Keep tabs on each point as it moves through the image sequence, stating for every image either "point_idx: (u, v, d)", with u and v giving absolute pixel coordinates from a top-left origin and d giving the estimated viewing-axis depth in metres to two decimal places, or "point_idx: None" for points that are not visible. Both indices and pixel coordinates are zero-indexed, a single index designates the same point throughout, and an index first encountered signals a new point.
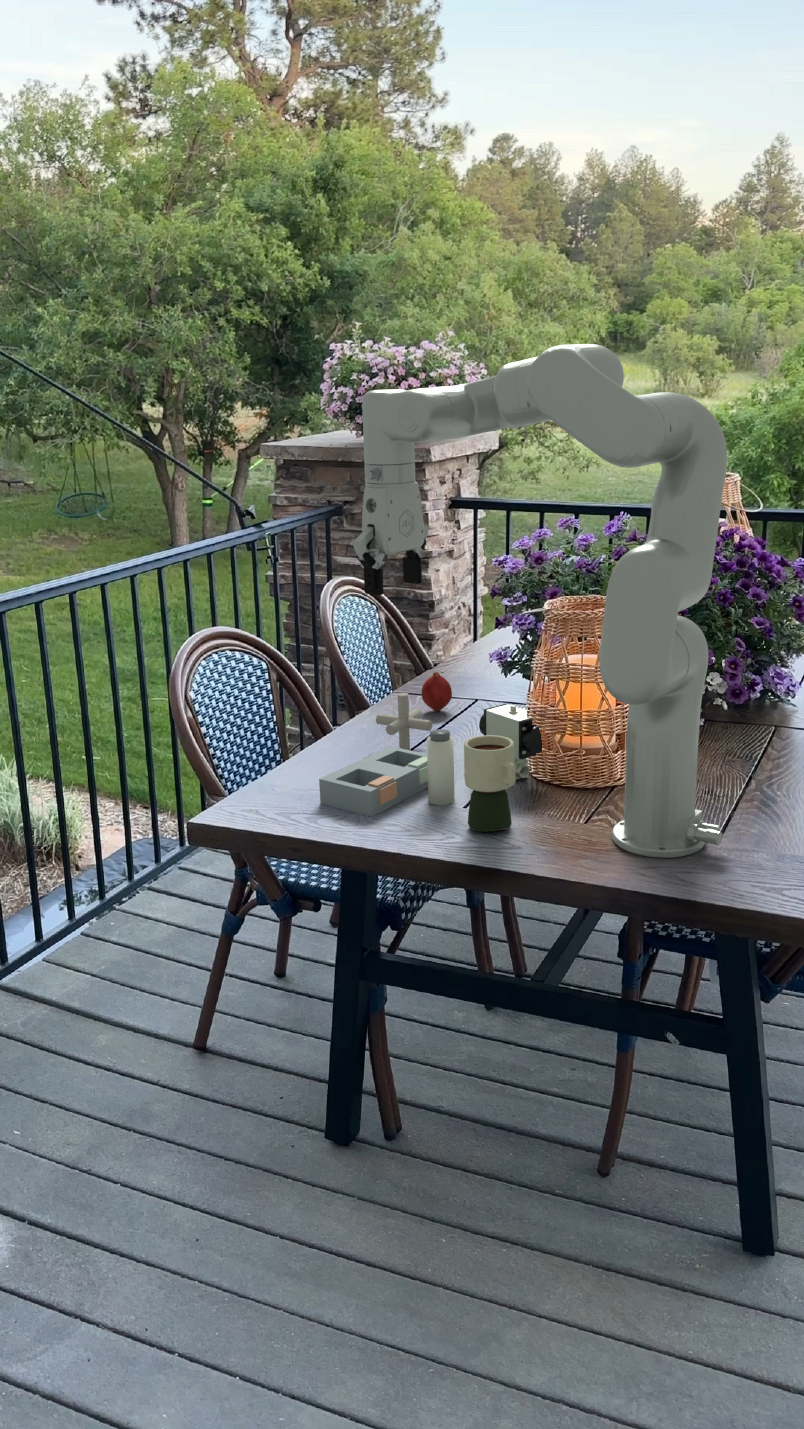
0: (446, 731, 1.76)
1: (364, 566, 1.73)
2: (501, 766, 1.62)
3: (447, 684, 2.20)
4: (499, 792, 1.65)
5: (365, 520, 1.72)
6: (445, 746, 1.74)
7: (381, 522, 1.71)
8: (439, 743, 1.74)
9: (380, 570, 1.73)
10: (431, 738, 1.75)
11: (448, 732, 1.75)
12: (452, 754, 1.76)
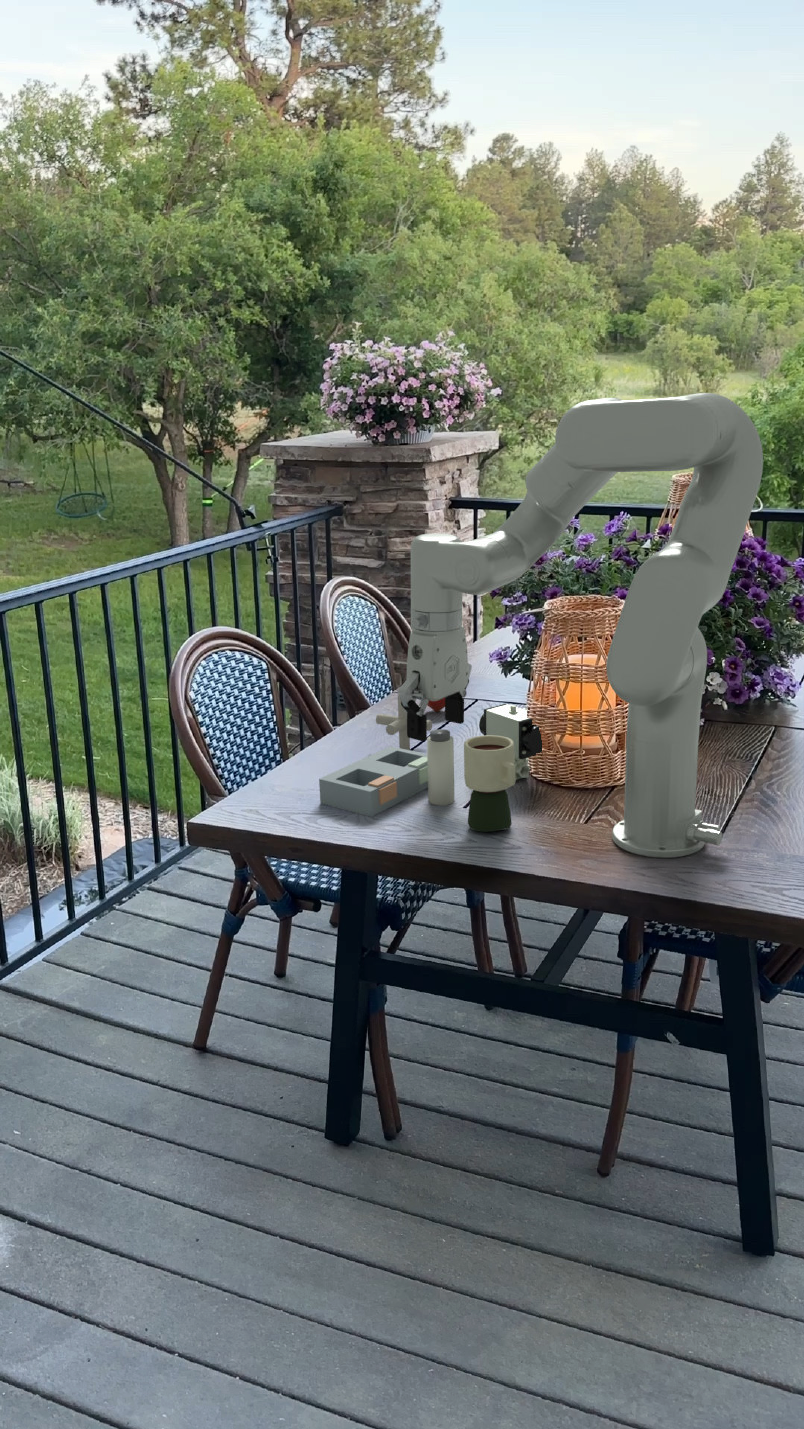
0: (446, 731, 1.76)
1: (408, 712, 1.70)
2: (501, 766, 1.62)
3: None
4: (499, 792, 1.65)
5: (410, 666, 1.69)
6: (446, 746, 1.74)
7: (427, 670, 1.67)
8: (439, 743, 1.74)
9: (424, 717, 1.70)
10: (431, 738, 1.75)
11: (448, 732, 1.75)
12: (452, 754, 1.76)
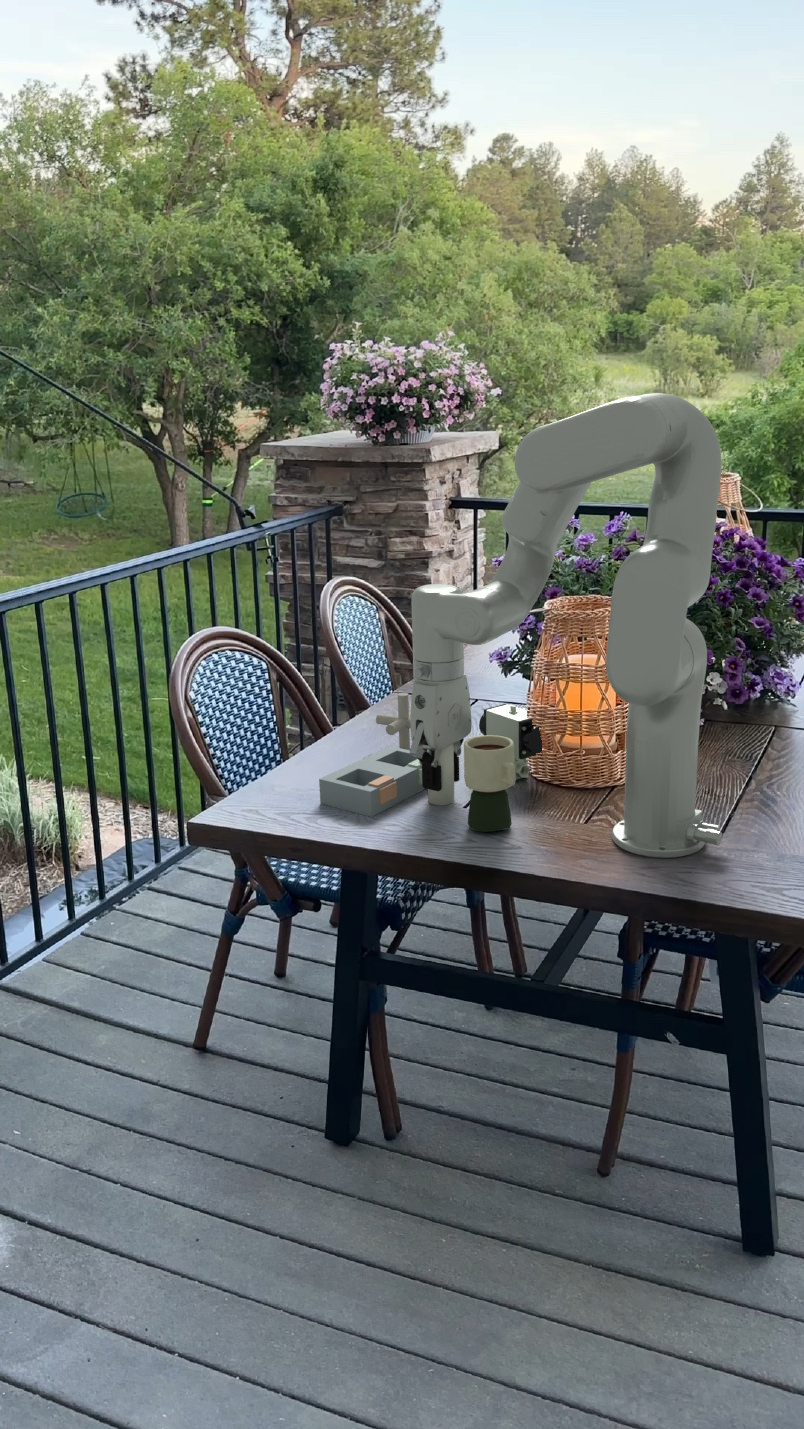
0: None
1: (423, 763, 1.74)
2: (501, 766, 1.62)
3: None
4: (499, 792, 1.65)
5: (414, 715, 1.71)
6: None
7: (430, 719, 1.69)
8: None
9: (439, 768, 1.74)
10: None
11: None
12: (452, 754, 1.76)
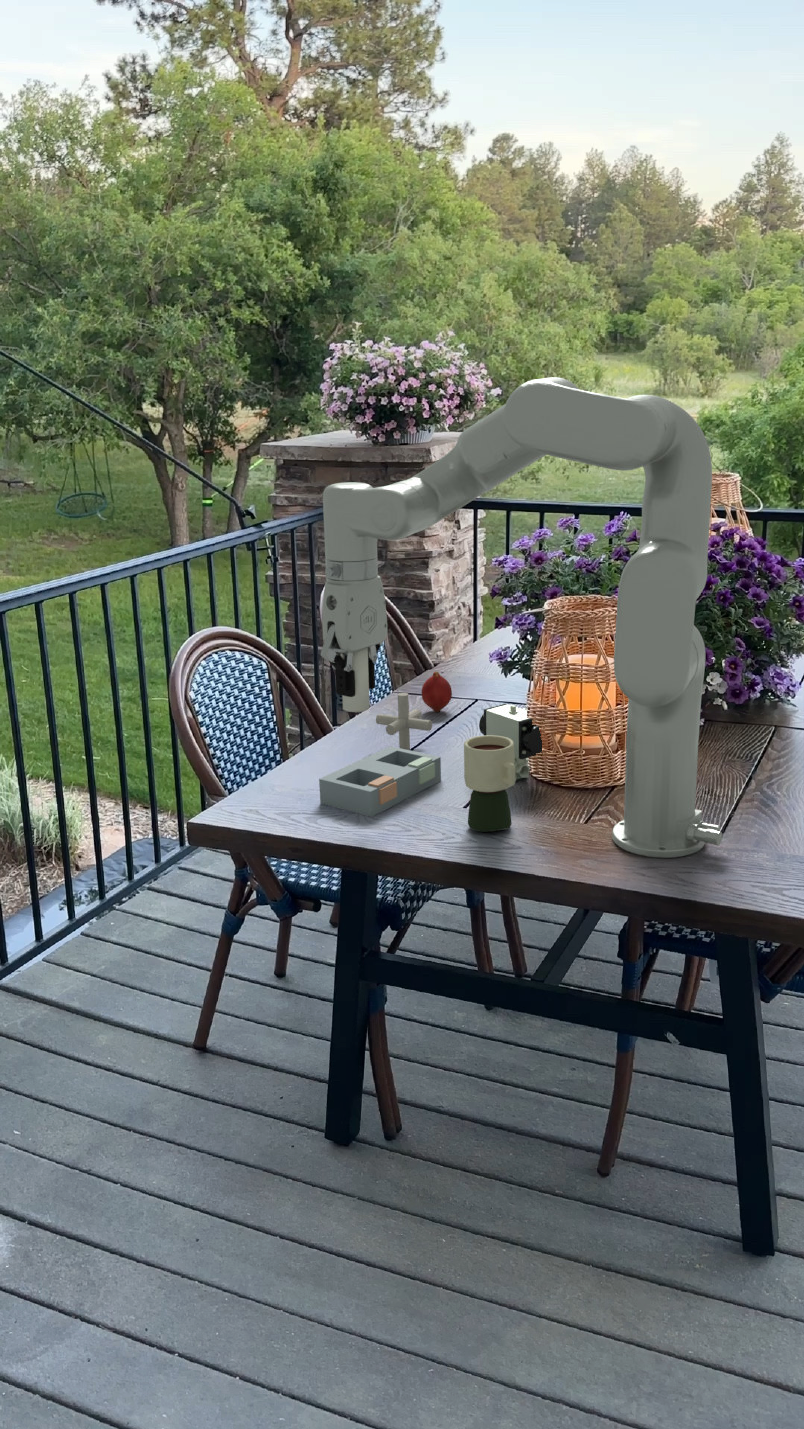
0: None
1: (336, 668, 1.70)
2: (501, 766, 1.62)
3: (447, 684, 2.20)
4: (499, 792, 1.65)
5: (325, 617, 1.67)
6: (359, 650, 1.70)
7: (341, 620, 1.66)
8: None
9: (352, 672, 1.70)
10: None
11: None
12: (366, 659, 1.72)
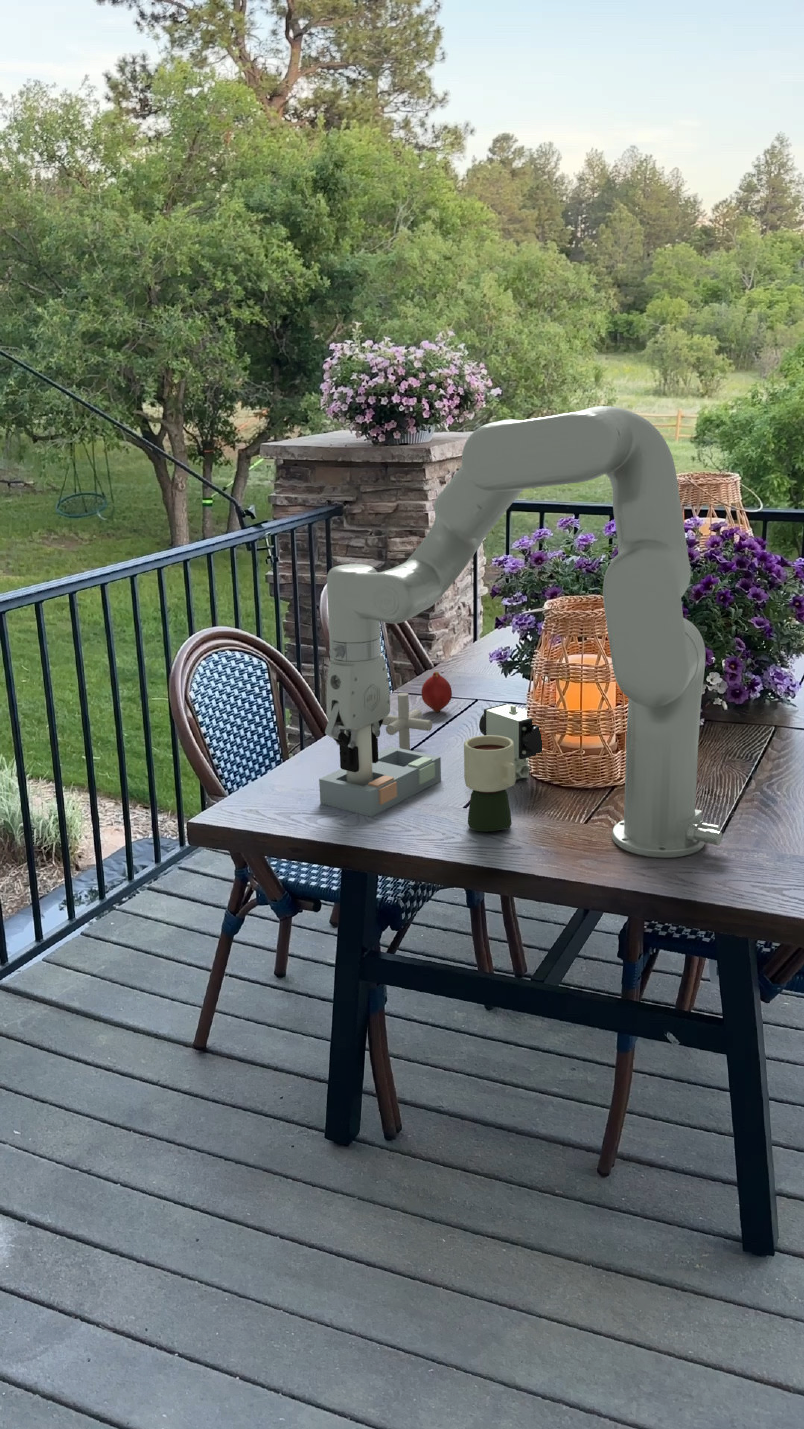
0: None
1: (340, 744, 1.74)
2: (501, 766, 1.62)
3: (447, 684, 2.20)
4: (499, 792, 1.65)
5: (329, 695, 1.71)
6: None
7: (345, 699, 1.69)
8: None
9: (355, 748, 1.74)
10: None
11: None
12: (369, 735, 1.75)
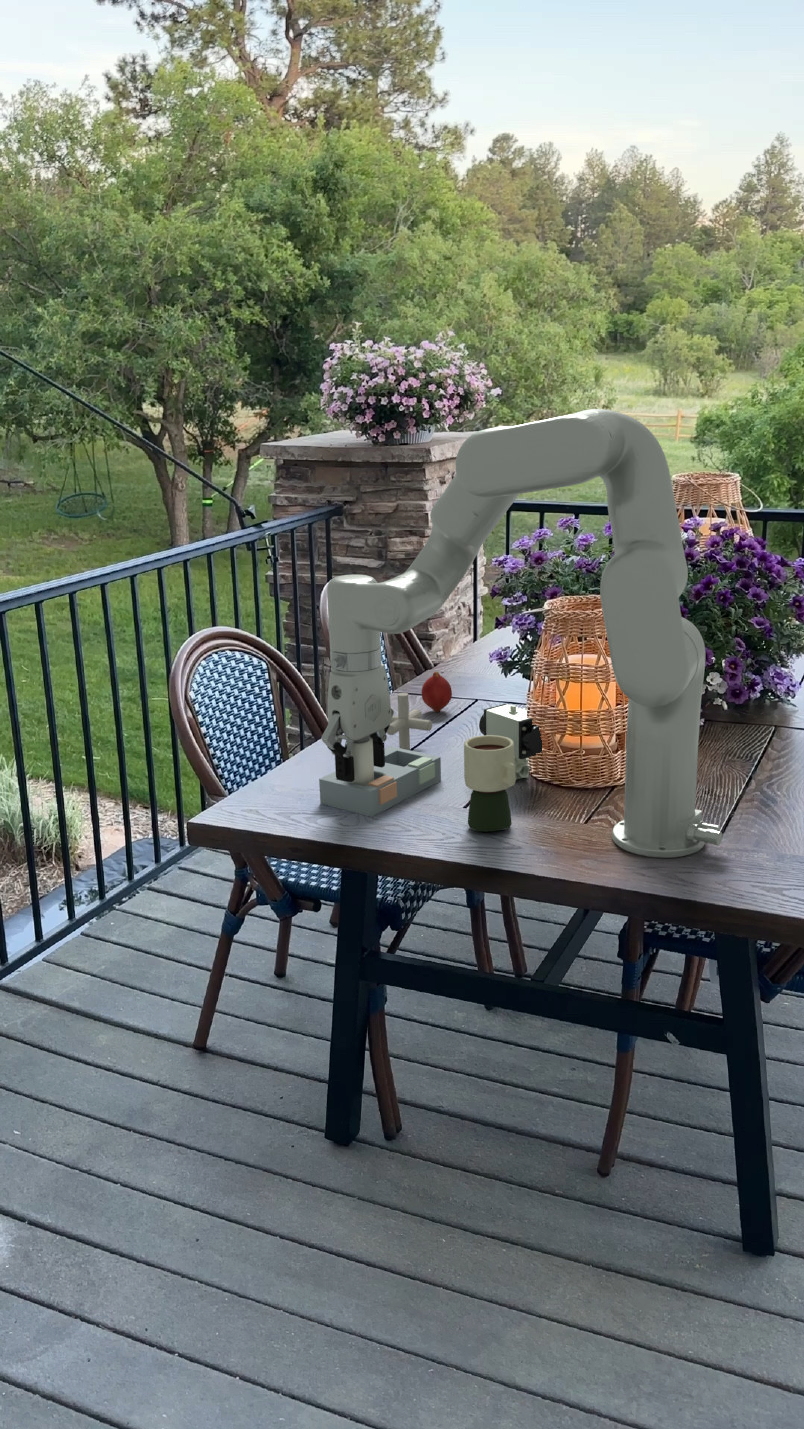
0: None
1: (335, 754, 1.73)
2: (501, 766, 1.62)
3: (447, 684, 2.20)
4: (499, 792, 1.65)
5: (330, 706, 1.71)
6: (364, 747, 1.75)
7: (346, 710, 1.69)
8: (357, 744, 1.74)
9: (351, 758, 1.73)
10: None
11: None
12: (371, 755, 1.76)
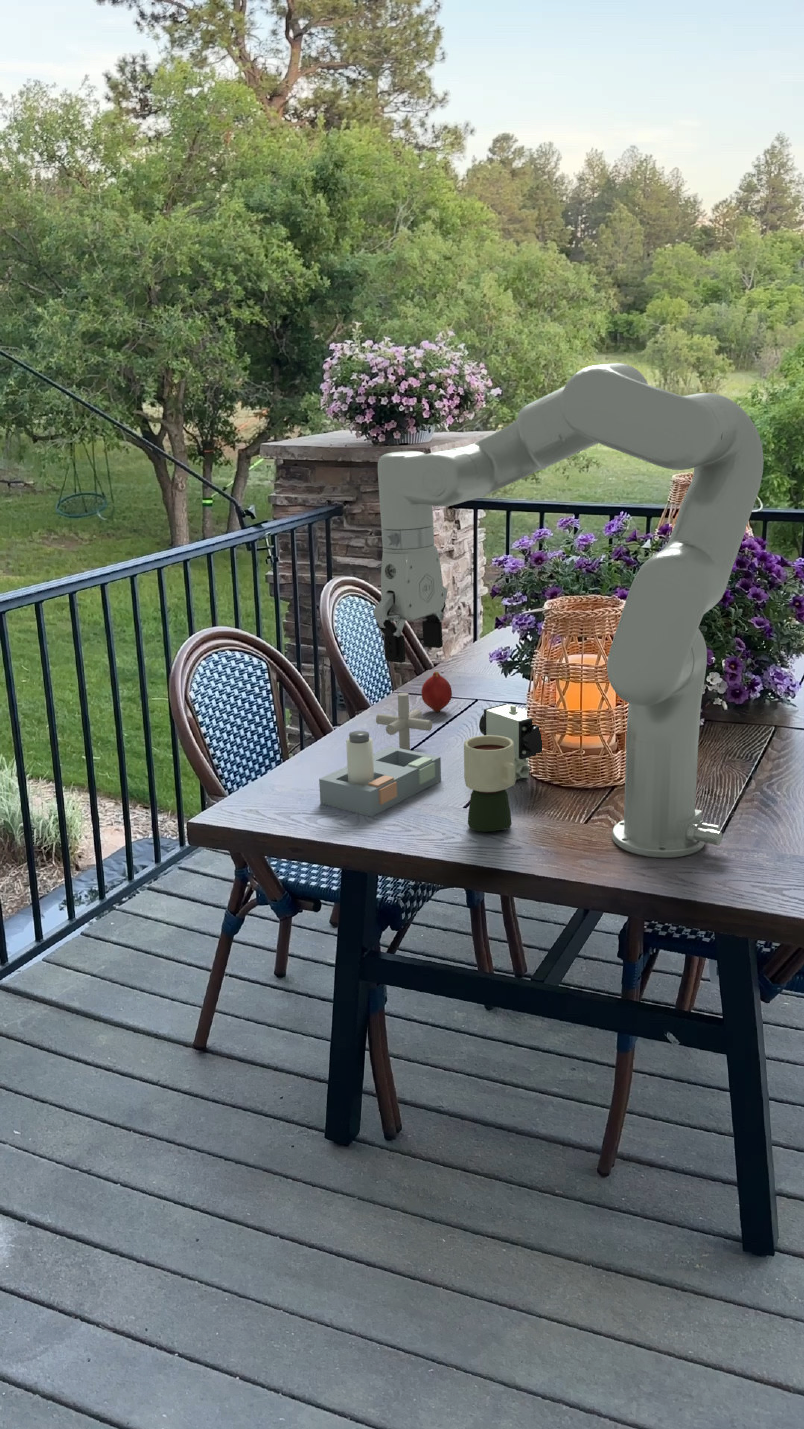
0: (365, 732, 1.76)
1: (385, 634, 1.68)
2: (501, 766, 1.62)
3: (447, 684, 2.20)
4: (499, 792, 1.65)
5: (384, 586, 1.67)
6: (364, 747, 1.75)
7: (401, 588, 1.65)
8: (357, 744, 1.74)
9: (401, 637, 1.68)
10: (350, 739, 1.75)
11: (367, 733, 1.76)
12: (371, 755, 1.76)
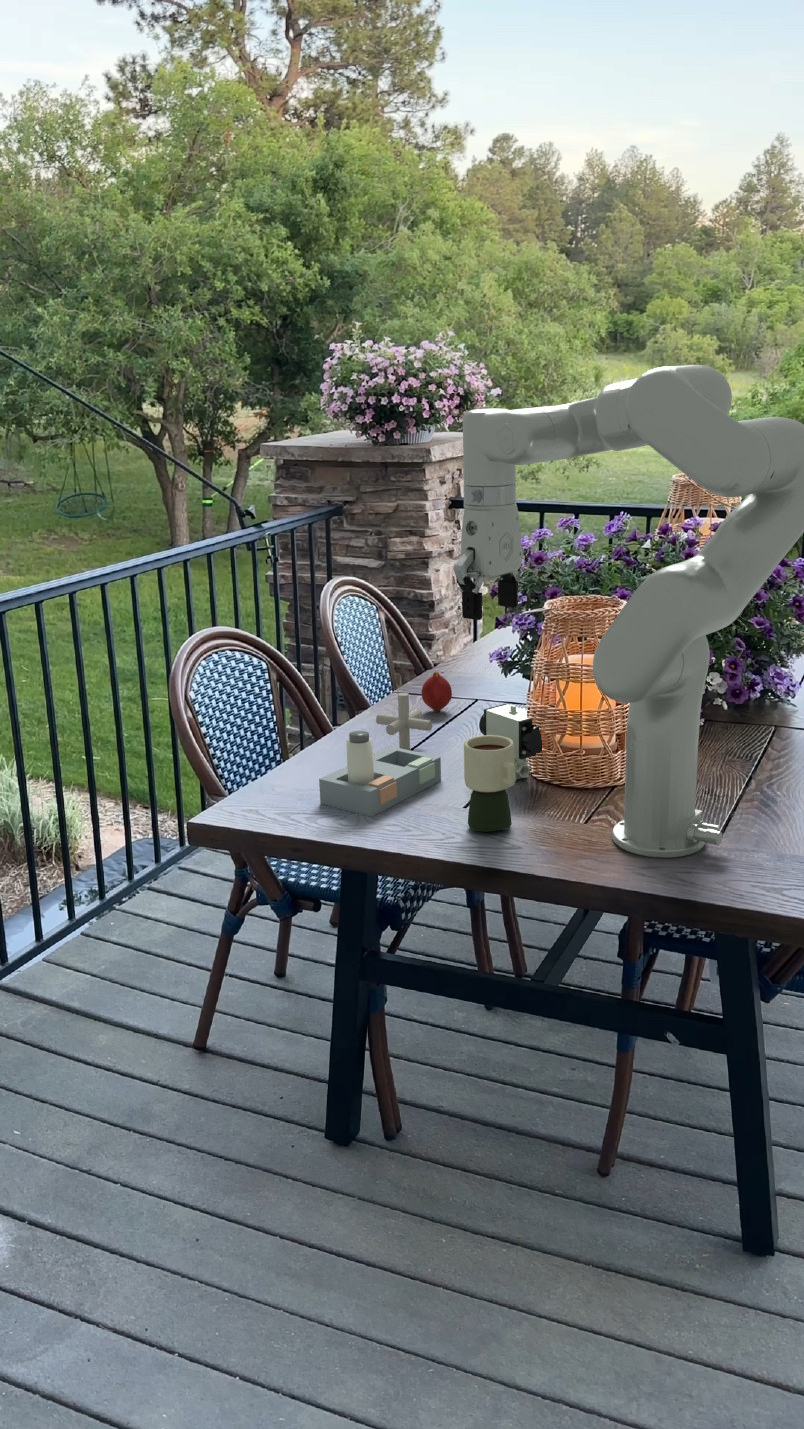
0: (365, 732, 1.76)
1: (463, 590, 1.68)
2: (501, 766, 1.62)
3: (447, 684, 2.20)
4: (499, 792, 1.65)
5: (465, 543, 1.68)
6: (364, 747, 1.75)
7: (482, 545, 1.66)
8: (357, 744, 1.74)
9: (480, 594, 1.68)
10: (350, 739, 1.75)
11: (367, 733, 1.76)
12: (371, 755, 1.76)
